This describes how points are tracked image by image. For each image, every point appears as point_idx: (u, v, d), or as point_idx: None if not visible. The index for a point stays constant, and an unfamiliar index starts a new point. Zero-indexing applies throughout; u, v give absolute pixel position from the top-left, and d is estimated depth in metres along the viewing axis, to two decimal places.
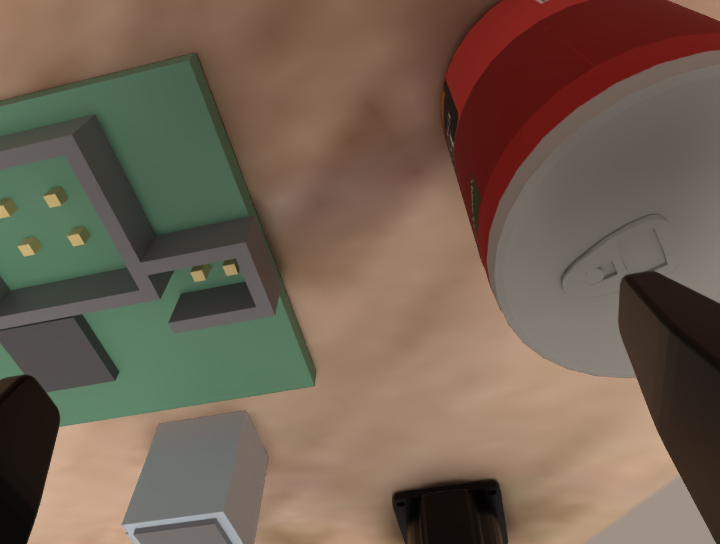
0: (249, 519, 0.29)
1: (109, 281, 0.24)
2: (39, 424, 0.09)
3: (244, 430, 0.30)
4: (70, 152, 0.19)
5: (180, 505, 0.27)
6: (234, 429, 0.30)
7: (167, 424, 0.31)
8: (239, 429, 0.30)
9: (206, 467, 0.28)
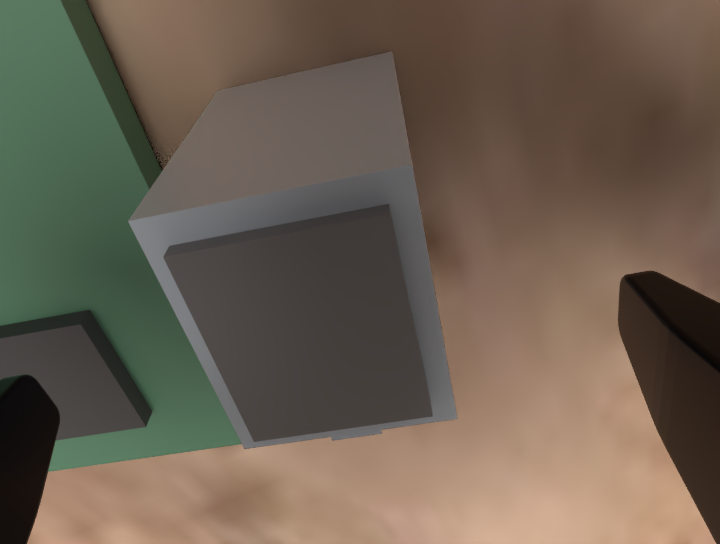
0: (336, 140, 0.09)
1: None
2: (39, 424, 0.09)
3: (224, 101, 0.12)
4: None
5: None
6: None
7: None
8: (206, 112, 0.12)
9: None
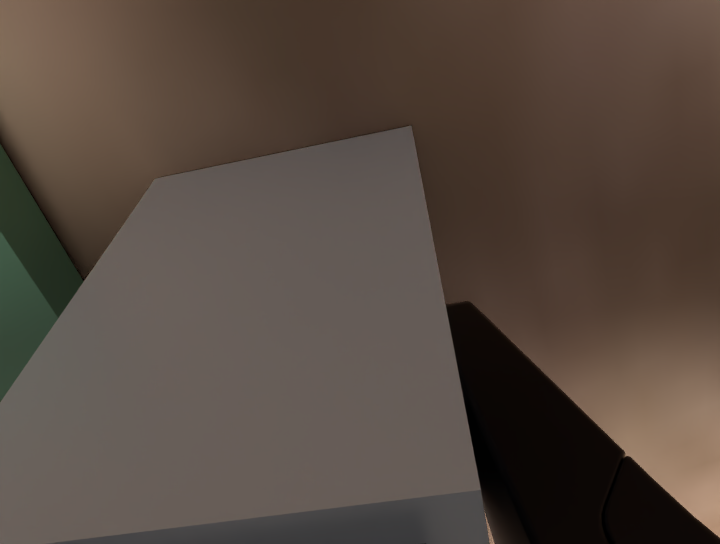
0: (321, 355, 0.05)
1: None
2: None
3: (158, 207, 0.08)
4: None
5: None
6: None
7: None
8: (127, 225, 0.08)
9: None
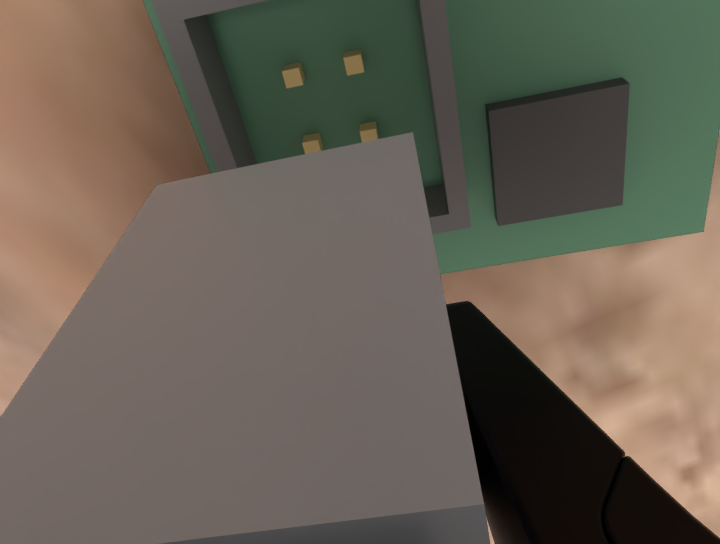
0: (323, 366, 0.05)
1: (422, 31, 0.15)
2: None
3: (159, 214, 0.08)
4: (178, 9, 0.14)
5: None
6: None
7: None
8: (129, 233, 0.08)
9: None
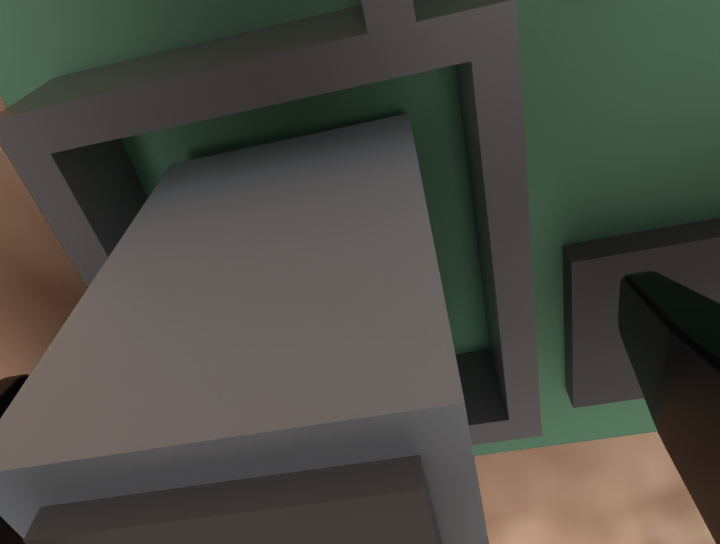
0: (328, 306, 0.05)
1: (471, 153, 0.09)
2: None
3: (175, 188, 0.09)
4: (38, 137, 0.08)
5: None
6: None
7: None
8: (146, 205, 0.08)
9: None
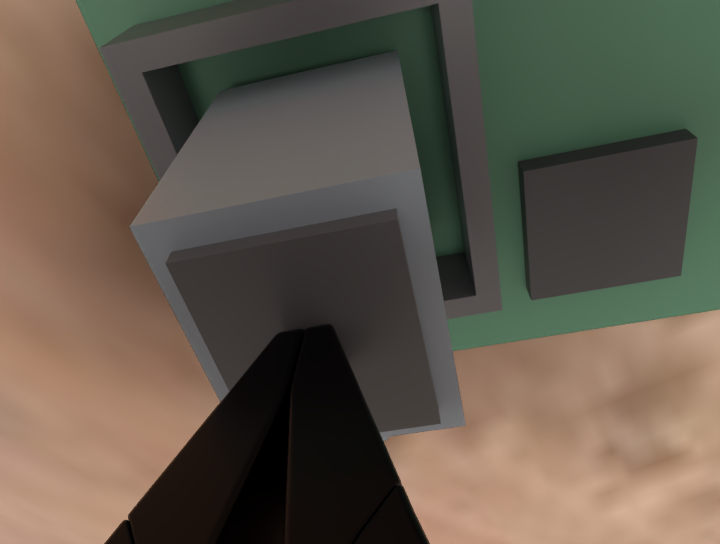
0: (342, 143, 0.09)
1: (444, 80, 0.12)
2: None
3: (227, 102, 0.12)
4: (134, 60, 0.11)
5: None
6: None
7: None
8: (207, 114, 0.12)
9: None
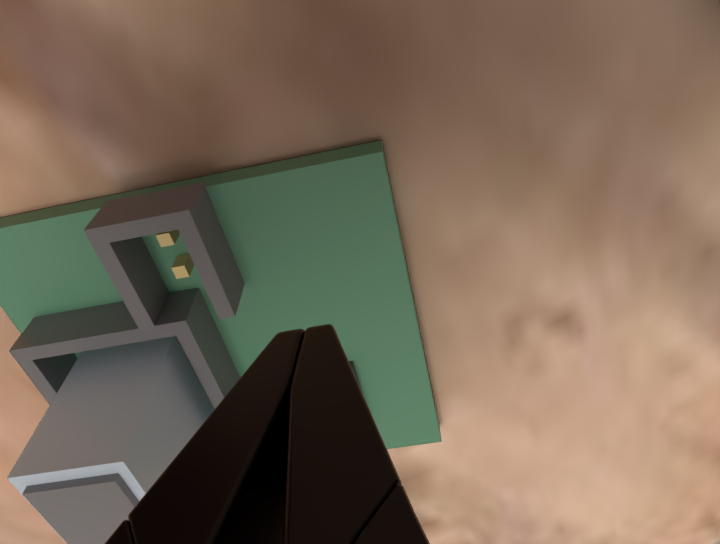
0: (107, 430, 0.19)
1: None
2: None
3: (80, 367, 0.22)
4: (27, 355, 0.21)
5: None
6: None
7: None
8: (69, 374, 0.22)
9: None
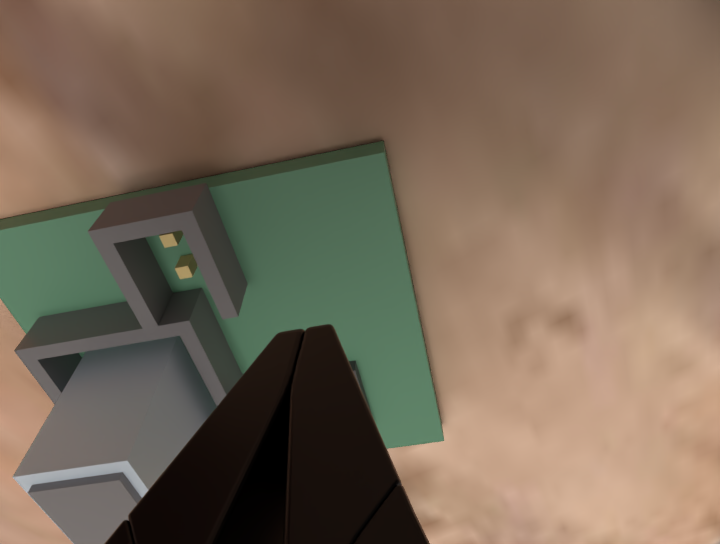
0: (112, 429, 0.19)
1: None
2: None
3: (85, 367, 0.22)
4: (32, 355, 0.22)
5: None
6: None
7: None
8: (73, 374, 0.22)
9: None
